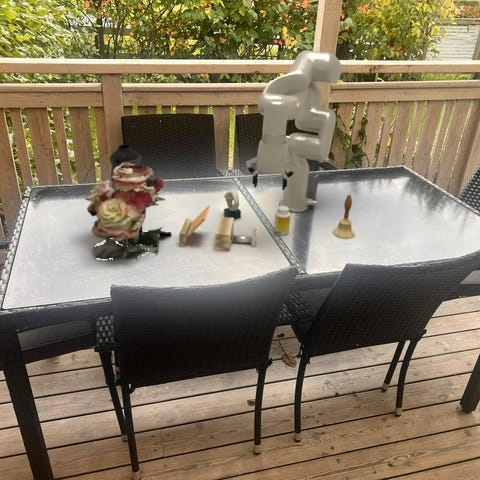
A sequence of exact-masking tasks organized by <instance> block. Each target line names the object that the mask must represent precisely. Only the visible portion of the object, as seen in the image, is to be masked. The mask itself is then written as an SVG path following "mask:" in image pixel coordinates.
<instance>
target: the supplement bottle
mask: <svg viewBox="0 0 480 480" xmlns="http://www.w3.org/2000/svg"><path fill="white" fill-rule="evenodd" d="M274 215H275V217H274V225H273V226H274V228H273V232H274V231H275V232H276V233H277V234H276V233H275V232H274V233H275V234H276V235H279V236H285V235H287V234H289V230H290V223H291V222H290V220H291V212H290V211H289V208H288V207H286V206H279V205H278V207H277V211H275V214H274Z"/></svg>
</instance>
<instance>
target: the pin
mask: <svg viewBox="0 0 480 480" xmlns="http://www.w3.org/2000/svg"><path fill="white" fill-rule="evenodd" d="M256 238H257V229H255V228H253V229H252V234H251V236H246V235H234V234H233V237H232V240H231V243H244V244H251V247H254V248H255V247H256V240H257V239H256Z"/></svg>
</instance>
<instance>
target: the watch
mask: <svg viewBox="0 0 480 480" xmlns="http://www.w3.org/2000/svg"><path fill="white" fill-rule="evenodd" d="M223 197H224V199H225V201H226V205H227V208H223V217H229V218H234V220H237V219H241V217H242V216H241V215H242V211H241V209H239V207H240V199H239V198H240V197H239V194H238V192H237V191H236V190H228V191H226V192H225V193H224V195H223Z"/></svg>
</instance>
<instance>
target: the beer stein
mask: <svg viewBox="0 0 480 480" xmlns="http://www.w3.org/2000/svg"><path fill="white" fill-rule="evenodd" d="M108 159H109V162H110V164H111V172H110V181H111V182H113V181H114V179H113V178H112V176H114V174H115V173H114V172H113V170H114V169H115V167H117V166H120V165H121V164H122V163H130V164H135V165H141V162H142V155H140V153H138V152H137V151H136V150H135V149H133V148H131V146H130V145H128V144H121V145H119V146H118V147H117V149H116V150H115V151H114V152H112V154H111V155H110V156H109V158H108ZM112 187H113V186H112ZM113 189H114V190H115V188H114V187H113Z"/></svg>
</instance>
